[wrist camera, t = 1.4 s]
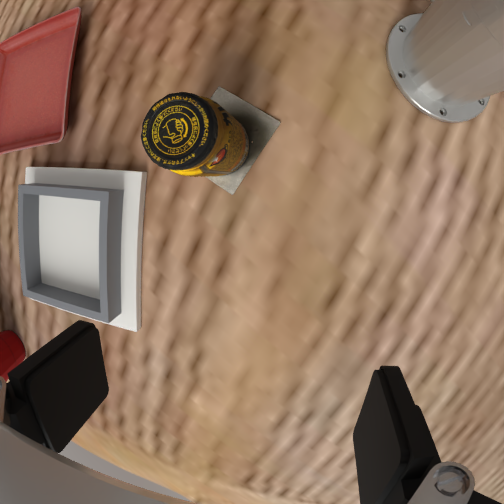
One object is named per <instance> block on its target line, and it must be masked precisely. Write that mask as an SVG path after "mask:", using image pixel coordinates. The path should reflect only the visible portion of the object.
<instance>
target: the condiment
mask: <svg viewBox="0 0 504 504" xmlns="http://www.w3.org/2000/svg"><path fill="white" fill-rule="evenodd" d="M280 123H281V122H279V121H278V120H276V119H274V118H273V117H271V116H269V115H268V114H266V113H264V112H263V111H261V110H259V109H258V108H256V107H254V106H253V105H251V104H249V103H248V102H246V101H244V100H242V99H241V98H239V97H237V96H235V95H234V94H232V93H230V92H228V91H227V90H225V89H223V88H221V87H218V88H217V90H216V91H215V92H214V94H213V95H212V97H211V99H208V98H205V97H200V96H197V95H195V94H192V93H186V92H179V93H172V94H168V95H167V96H165V97H164V98H162V99H161V100H159V101H158V102H156V103H155V104H154V105H153V106H152V107H151V109H150V110H149V112H148V113H147V115H146V117H145V119H144V121H143V125H142V134H141V140H142V144H143V147H144V149H145V151H146V153H147V154H148V156H149V157H150V158H151V160H152V161H153V162H154V163H156V164H158V166H160V167H163V168H165V169H169V170H171V171H173V172H175V173H177V174H180V175H183V176H194V177H198V176H201V177H202V176H205V177H206V178H208V179H209V180H211V181H212V182H214V183H215V184H217V185H218V186H220V187H221V188H223V189H224V190H226V191H227V192H229V193H230V194H232V195H233V194H234V192H235V190H236V189H237V187H238V186H239V184H240V183H241V181H242V180H243V178H244V177H245V175H246V174H247V172H248V171H249V169H250V168H251V166H252V165H253V163H254V162H255V160H256V159H257V157H258V156H259V154H260V152H261V151H262V149H263V148H264V147H265V145H266V144H267V142H268V141H269V139H270V138H271V136H272V135H273V133H274V132H275V130H276V129H277V127H278V126H279V125H280ZM252 141H253V143H252Z"/></svg>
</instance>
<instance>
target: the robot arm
mask: <svg viewBox="0 0 504 504" xmlns="http://www.w3.org/2000/svg"><path fill="white" fill-rule="evenodd" d="M401 31H402V32H401ZM386 58H387V65H388V68H389V71H390V73H391V76H392V78H393V80H394V82H395V84H396V86H397V87H398V88H399V90H400V91H401V93H402V94H403V95H404V97H405V98H406V99H407V100H408V101H409V102H410V103H411V104H412V105H413V106H415V107H416V108H417V109H419V110H420V111H421V112H423V113H424V114H426V115H428V116H430V117H432V118H434V119H437V120H440V121H443V122H450V123H457V122H463V121H468V120H470V119H472V118H474V117H476V116H478V115H479V114H480V113H481V112H482V111H483V110H484V109H485V107H486V106H487V103H488V101H489V98H490V96H491V95H494V94H497V93H499V92H502V91H504V0H431V5H430V6H429V7H428V8H427V10H426V11H425V12H424V13H418V14H412V15H409V16H407V17H404V18H403V19H402V20H400V21H399V22H398V23H397V24H396V25H395V26H394V28H393V29H392V31H391V33H390V34H389V36H388V40H387V44H386ZM398 75H400V76H401V78H400V77H399V76H398ZM440 112H441V113H442V115H441V114H440ZM7 375H8V378H9V380H10V381H9V382H8V383H6V381H5V379H4V378H3V377H1V376H0V504H197V503H193V502H189V501H185V500H181V499H177V498H173V497H170V496H166V495H162V494H159V493H156V492H153V491H149V490H146V489H143V488H140V487H137V486H134V485H132V484H129V483H126V482H123V481H120V480H118V479H115V478H112V477H110V476H107V475H105V474H102V473H100V472H98V471H95V470H93V469H90V468H88V467H85V466H83V465H81V464H79V463H77V462H75V461H72V460H70V459H68V458H66V457H64V456H62V455H60V454H58V453H60V452H61V451H62V450H63V449H64V448H65V446H66V445H67V444H68V443H69V442H70V440H71V439H72V438H73V437H74V436H75V434H76V433H77V432H78V431H79V429H80V428H81V427H82V426H83V425H84V423H85V422H86V421H87V420H88V419H89V417H90V416H91V415H92V414H93V413H94V411H95V410H96V409H97V408H98V406H99V405H100V404H101V403H102V402H103V400H104V399H105V398H106V397H107V395H108V392H109V387H108V382H107V377H106V372H105V366H104V361H103V355H102V349H101V342H100V336H99V331H98V329H97V328H96V327H95V325H94V324H93V323H89V322H85V321H82V320H79V321H77V322H75V323H74V324H73V325H71V326H70V327H69V328H67V329H66V330H64V331H63V332H62V333H60V334H59V335H58V336H56V337H55V338H54V339H52V340H51V341H50V342H48V343H47V344H45V345H44V346H43V347H41V348H40V349H39V350H37V351H36V352H35V353H33V354H32V355H31V356H30V357H28V358H27V359H26V360H24V361H23V362H22V363H20V364H19V365H18V366H16V367H15V368H14V369H13V370H11V371H10V372H9V373H7ZM353 442H354V450H355V458H356V466H357V475H358V485H359V495H360V504H502V503H499V502H497V501H495V500H493V499H491V498H489V497H486V496H484V495H482V494H480V493H478V492H476V491H474V486H475V480H474V476H473V474H472V472H471V471H470V470H469V469H468V468H467V467H465V466H464V465H462V464H460V463H456V462H442V463H441V460H440V457H439V455H438V452H437V449H436V447H435V444H434V441H433V439H432V436H431V434H430V431H429V428H428V426H427V423H426V421H425V418H424V416H423V414H422V411H421V409H420V407H419V406H417V405H415V403H414V401H413V399H412V396H411V394H410V391H409V389H408V387H407V384H406V382H405V379H404V377H403V375H402V372H401V370H400V368H399V367H398V366H381V367H380V369H379V370H375V371H374V372H373V375H372V378H371V382H370V385H369V388H368V391H367V394H366V397H365V400H364V403H363V406H362V409H361V412H360V415H359V417H358V420H357V423H356V426H355V429H354V433H353Z"/></svg>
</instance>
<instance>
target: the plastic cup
mask: <svg viewBox="0 0 504 504" xmlns="http://www.w3.org/2000/svg"><path fill="white" fill-rule="evenodd" d="M24 358H25V349H24V346H23V344H22V342H21V340H20V339H19V337H18V336H17V335H16V334H15V333H14V332H12V331H10V330H7V331H3V332H0V376H1V377H3V378H4V379H5V381H7V380H8V379H9V378H8V375H7V373H9V372H10V371H11V370H13V369H14V368H15V367H16V366H18V365H19V364H20V363H22V362H23V360H24Z"/></svg>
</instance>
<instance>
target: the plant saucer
mask: <svg viewBox="0 0 504 504" xmlns="http://www.w3.org/2000/svg"><path fill="white" fill-rule="evenodd" d="M80 24H81V8H80V7H75V8H72V9H70V10H67V11H65V12H62V13H60V14H58V15H55V16H53V17H50V18H48V19H46V20H44V21H42V22H39V23H37V24H35V25H33V26H31V27H29V28H27V29H25V30H23V31H21V32H19V33H17V34H15V35H13V36H11V37H10V38H8V39H6V40H4V41H2V42H0V155H1V154H5V153H9V152H14V151H18V150H23V149H27V148H32V147H37V146H42V145H48V144H53V143H58V142H60V141H61V140H62V139H63V138H64V136H65V134H66V131H67V125H68V111H69V99H70V89H71V80H72V73H73V65H74V59H75V52H76V47H77V41H78V36H79V30H80Z"/></svg>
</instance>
